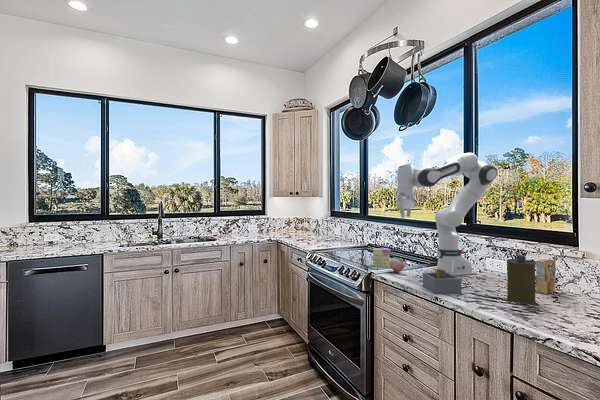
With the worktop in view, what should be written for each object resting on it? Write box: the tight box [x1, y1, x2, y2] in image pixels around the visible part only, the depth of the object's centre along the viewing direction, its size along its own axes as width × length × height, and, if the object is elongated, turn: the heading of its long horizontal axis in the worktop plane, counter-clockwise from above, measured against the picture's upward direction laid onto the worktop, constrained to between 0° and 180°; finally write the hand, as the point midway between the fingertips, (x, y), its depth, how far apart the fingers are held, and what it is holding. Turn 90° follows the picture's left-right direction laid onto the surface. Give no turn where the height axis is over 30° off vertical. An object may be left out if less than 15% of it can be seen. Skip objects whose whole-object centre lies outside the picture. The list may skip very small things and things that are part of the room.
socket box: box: [422, 272, 462, 295], centre depth 153 cm, size 13×13×7 cm
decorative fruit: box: [389, 256, 406, 273], centre depth 190 cm, size 9×8×10 cm
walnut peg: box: [436, 269, 446, 279], centre depth 153 cm, size 4×4×10 cm
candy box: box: [535, 258, 556, 295], centre depth 148 cm, size 9×4×15 cm, turn 116°
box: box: [372, 247, 391, 268], centre depth 208 cm, size 10×6×12 cm, turn 84°
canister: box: [506, 254, 537, 305], centre depth 136 cm, size 11×10×20 cm
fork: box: [406, 261, 427, 269], centre depth 210 cm, size 3×20×2 cm, turn 21°
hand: (405, 217), depth 174 cm, fingers open, 8 cm apart
